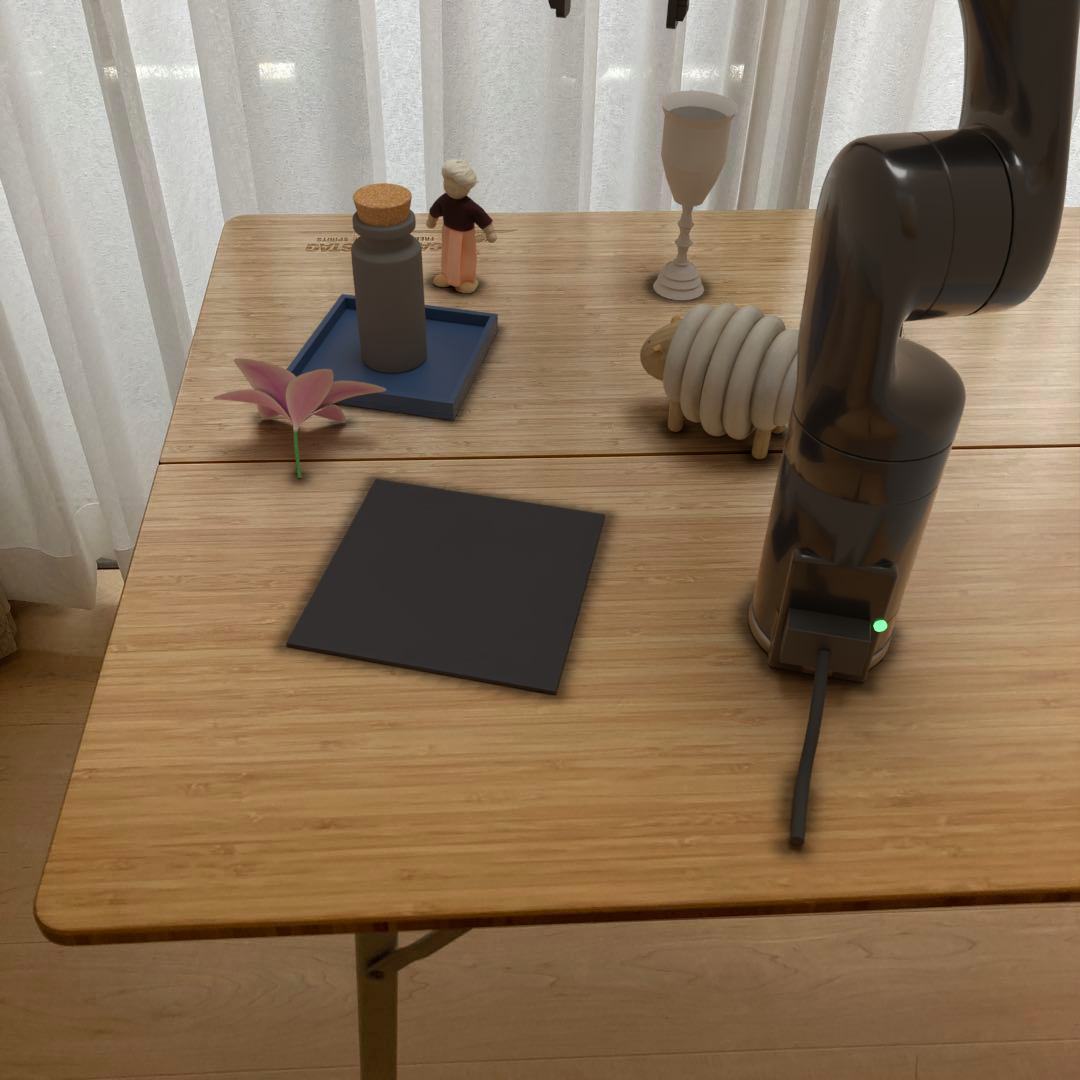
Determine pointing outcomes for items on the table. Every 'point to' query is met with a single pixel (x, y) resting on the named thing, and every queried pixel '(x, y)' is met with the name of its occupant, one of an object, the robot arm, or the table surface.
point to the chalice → (691, 173)
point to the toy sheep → (726, 371)
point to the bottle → (388, 279)
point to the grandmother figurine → (459, 227)
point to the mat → (455, 585)
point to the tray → (419, 391)
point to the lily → (295, 394)
